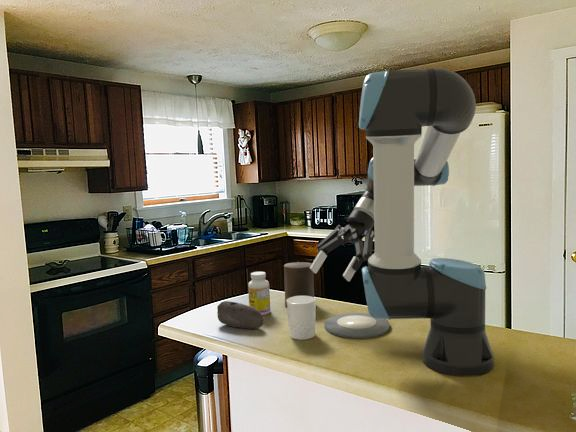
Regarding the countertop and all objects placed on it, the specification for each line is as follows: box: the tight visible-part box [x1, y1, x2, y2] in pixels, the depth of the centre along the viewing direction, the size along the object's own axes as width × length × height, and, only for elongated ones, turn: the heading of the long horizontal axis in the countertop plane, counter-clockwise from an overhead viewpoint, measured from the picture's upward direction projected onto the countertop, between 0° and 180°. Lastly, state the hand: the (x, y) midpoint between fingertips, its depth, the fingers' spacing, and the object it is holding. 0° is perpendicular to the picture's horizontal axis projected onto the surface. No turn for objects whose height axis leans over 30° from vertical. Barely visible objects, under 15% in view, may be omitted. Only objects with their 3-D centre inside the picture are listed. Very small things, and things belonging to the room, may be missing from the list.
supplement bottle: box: [247, 271, 271, 316], centre depth 150 cm, size 7×7×13 cm
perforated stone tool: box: [216, 300, 264, 330], centre depth 138 cm, size 15×5×7 cm, turn 58°
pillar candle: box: [283, 260, 315, 308], centre depth 157 cm, size 10×10×15 cm
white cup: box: [286, 296, 317, 341], centre depth 129 cm, size 8×8×10 cm
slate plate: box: [324, 312, 390, 339], centre depth 134 cm, size 18×18×2 cm
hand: (328, 274), depth 134 cm, fingers open, 13 cm apart
